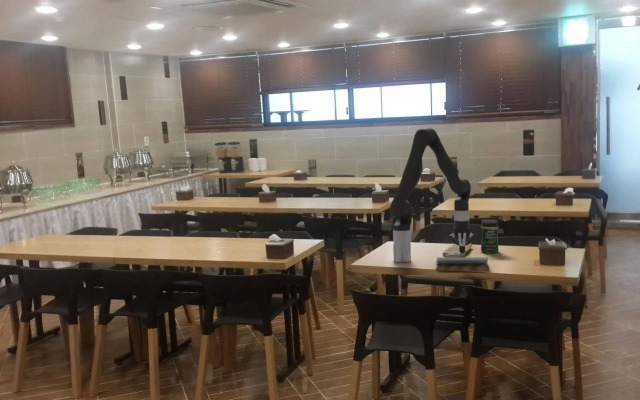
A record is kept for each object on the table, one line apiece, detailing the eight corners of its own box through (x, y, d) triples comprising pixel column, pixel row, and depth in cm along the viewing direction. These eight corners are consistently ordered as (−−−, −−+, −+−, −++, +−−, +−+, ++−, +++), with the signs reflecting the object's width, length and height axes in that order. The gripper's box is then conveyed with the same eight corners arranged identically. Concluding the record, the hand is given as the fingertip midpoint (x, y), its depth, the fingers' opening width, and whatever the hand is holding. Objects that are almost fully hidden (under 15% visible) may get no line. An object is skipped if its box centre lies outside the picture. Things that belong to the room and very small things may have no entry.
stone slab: (439, 253, 338) (453, 240, 365) (440, 260, 339) (453, 247, 366) (462, 254, 333) (474, 241, 359) (462, 261, 334) (474, 248, 360)
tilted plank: (437, 259, 312) (436, 257, 312) (437, 264, 319) (437, 261, 319) (487, 259, 307) (487, 257, 308) (486, 264, 314) (486, 261, 315)
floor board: (436, 270, 311) (436, 265, 311) (436, 263, 326) (435, 258, 326) (489, 270, 306) (489, 265, 306) (486, 263, 321) (486, 258, 321)
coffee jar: (481, 253, 345) (480, 220, 343) (480, 250, 353) (480, 218, 351) (499, 253, 343) (498, 220, 341) (498, 250, 351) (498, 218, 348)
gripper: (448, 220, 305) (449, 254, 307) (475, 220, 303) (476, 254, 305) (448, 218, 312) (448, 251, 314) (474, 217, 310) (475, 251, 312)
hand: (462, 253), depth 309 cm, fingers closed
